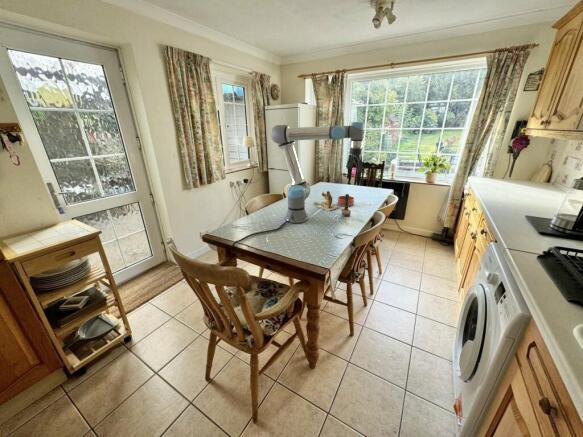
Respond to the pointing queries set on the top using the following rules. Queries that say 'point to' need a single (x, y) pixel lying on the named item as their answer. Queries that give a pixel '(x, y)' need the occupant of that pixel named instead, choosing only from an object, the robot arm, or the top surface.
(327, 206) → the wooden toy
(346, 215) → the dish brush
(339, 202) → the bowl
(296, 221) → the robot arm
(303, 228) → the top surface
